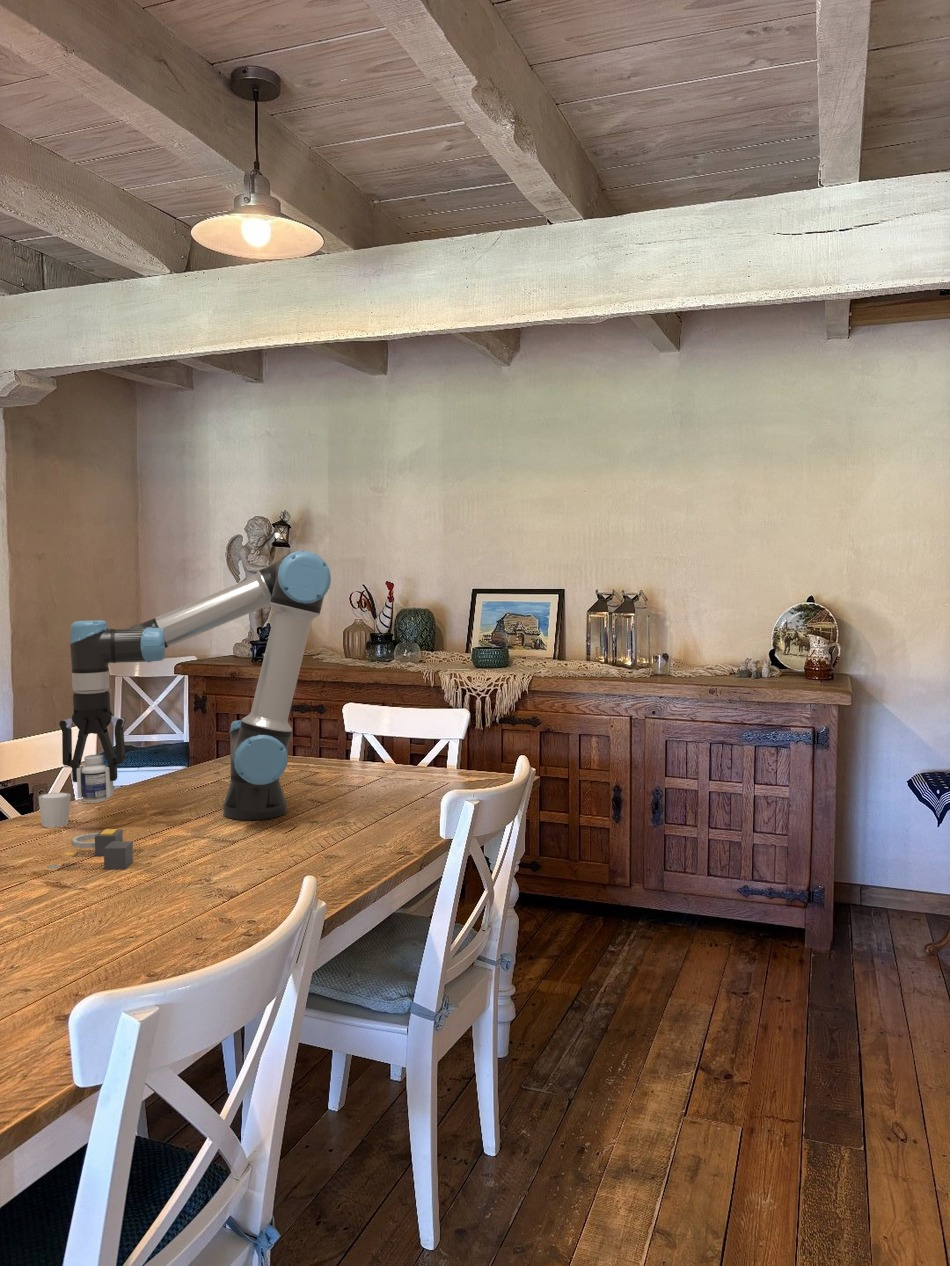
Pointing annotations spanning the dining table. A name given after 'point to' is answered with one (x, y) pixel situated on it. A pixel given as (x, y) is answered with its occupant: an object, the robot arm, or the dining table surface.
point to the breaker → (118, 855)
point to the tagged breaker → (106, 839)
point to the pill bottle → (94, 779)
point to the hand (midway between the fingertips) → (95, 795)
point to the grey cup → (54, 809)
